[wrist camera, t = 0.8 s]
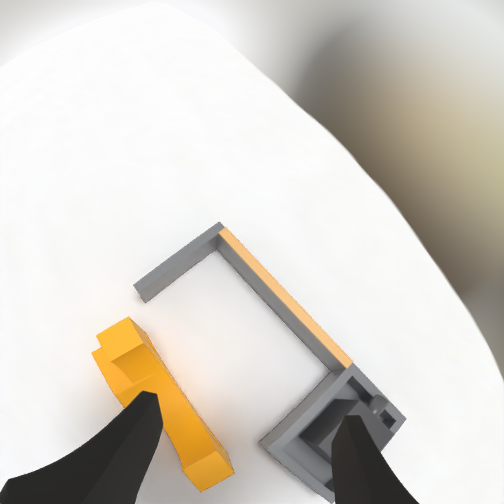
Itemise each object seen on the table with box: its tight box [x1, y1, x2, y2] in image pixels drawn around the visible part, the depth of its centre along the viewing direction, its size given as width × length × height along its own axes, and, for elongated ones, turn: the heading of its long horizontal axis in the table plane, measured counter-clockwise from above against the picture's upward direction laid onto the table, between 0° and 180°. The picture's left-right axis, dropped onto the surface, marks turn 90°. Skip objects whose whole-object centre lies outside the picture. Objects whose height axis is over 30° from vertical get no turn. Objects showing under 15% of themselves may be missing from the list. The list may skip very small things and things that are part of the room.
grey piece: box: [133, 222, 406, 504], centre depth 22 cm, size 10×24×6 cm, turn 43°
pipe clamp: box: [92, 317, 235, 492], centre depth 19 cm, size 12×4×6 cm, turn 35°
